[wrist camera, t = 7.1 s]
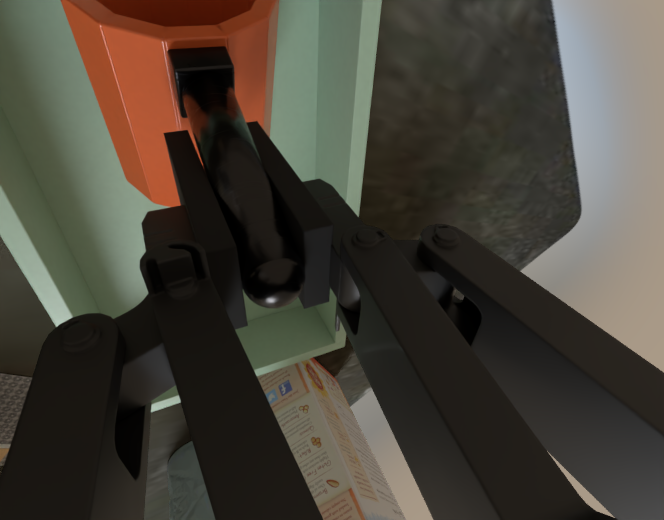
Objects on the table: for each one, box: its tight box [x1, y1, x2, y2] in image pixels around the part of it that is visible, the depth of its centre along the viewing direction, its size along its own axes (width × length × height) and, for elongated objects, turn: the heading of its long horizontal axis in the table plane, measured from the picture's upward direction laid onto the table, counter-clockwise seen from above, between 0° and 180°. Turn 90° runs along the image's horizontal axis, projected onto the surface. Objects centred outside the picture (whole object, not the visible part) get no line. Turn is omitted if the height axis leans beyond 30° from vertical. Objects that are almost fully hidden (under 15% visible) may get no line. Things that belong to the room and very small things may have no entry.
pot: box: [60, 0, 306, 309], centre depth 16 cm, size 16×7×8 cm
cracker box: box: [257, 358, 406, 520], centre depth 37 cm, size 14×6×21 cm, turn 24°
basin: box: [0, 0, 382, 412], centre depth 24 cm, size 30×18×6 cm, turn 177°
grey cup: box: [168, 441, 215, 520], centre depth 44 cm, size 10×10×12 cm
